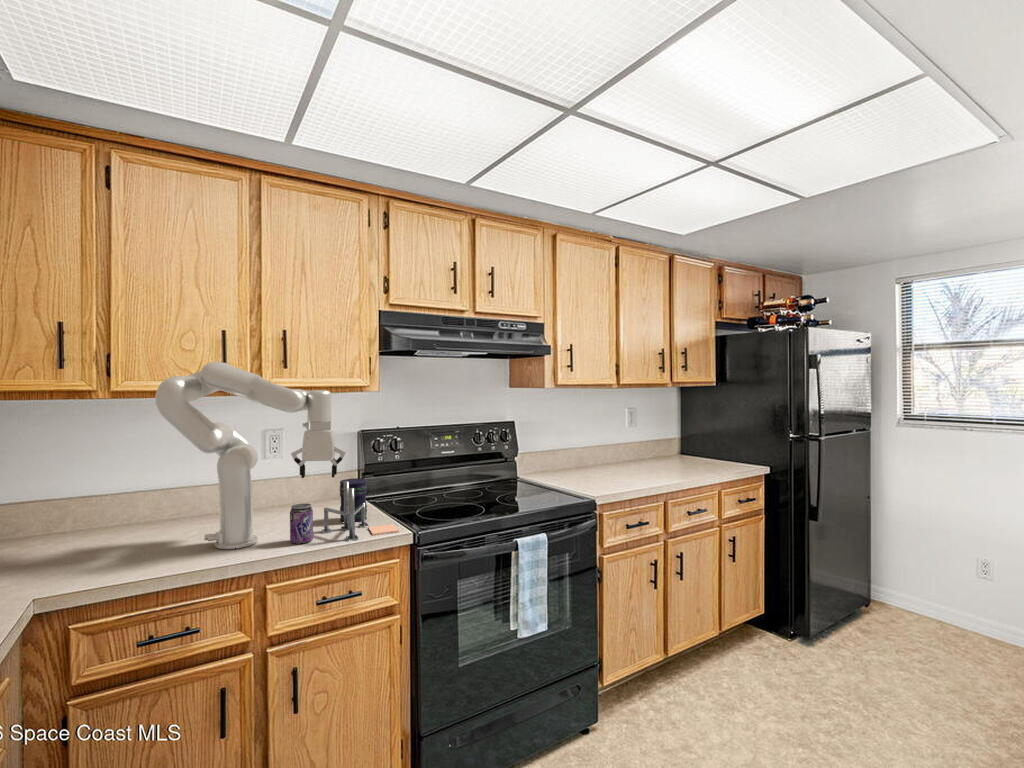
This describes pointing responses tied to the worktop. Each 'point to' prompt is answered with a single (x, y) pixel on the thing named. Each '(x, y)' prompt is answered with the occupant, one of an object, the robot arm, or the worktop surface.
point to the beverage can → (301, 523)
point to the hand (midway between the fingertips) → (318, 477)
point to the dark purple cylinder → (355, 496)
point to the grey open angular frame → (347, 513)
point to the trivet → (383, 529)
